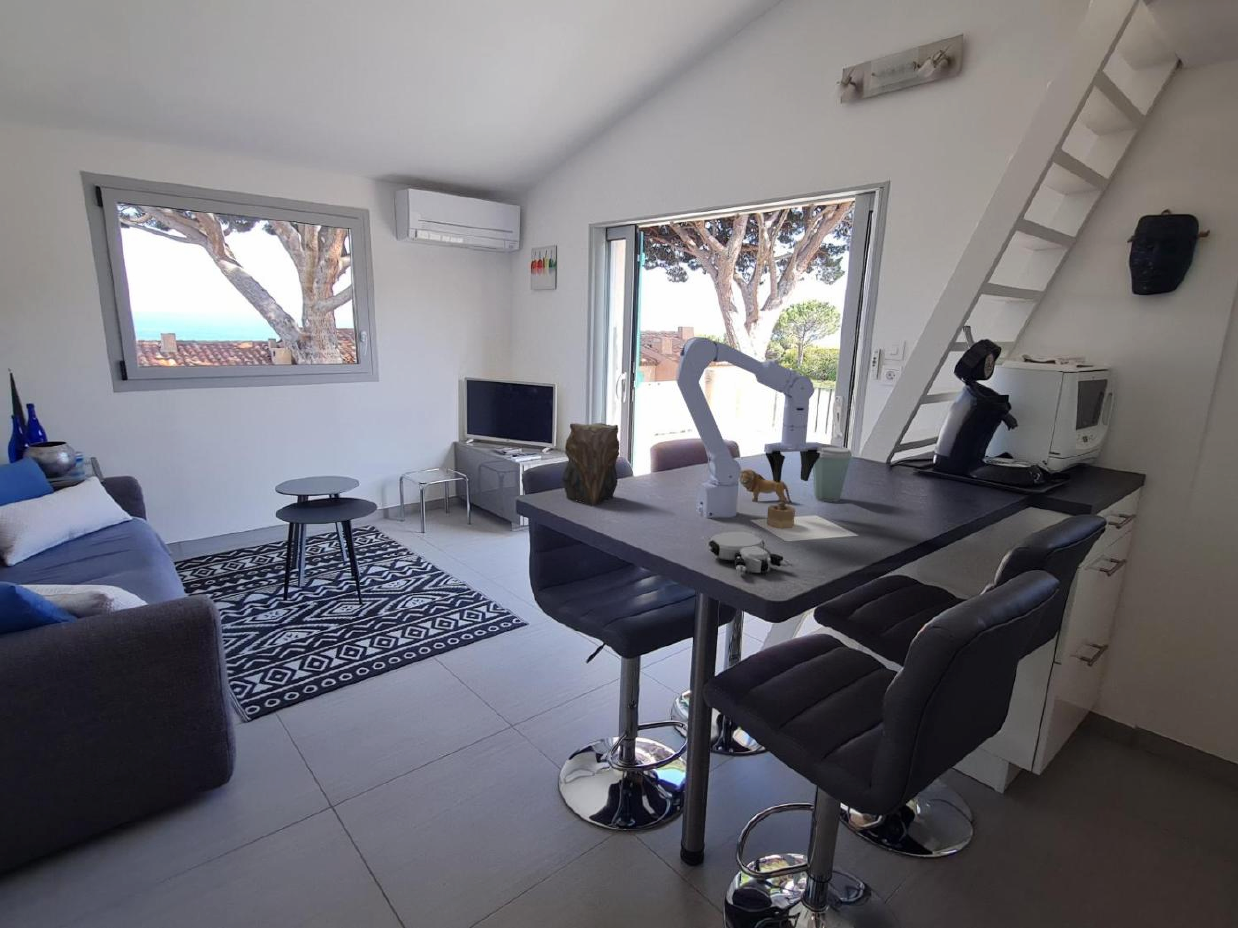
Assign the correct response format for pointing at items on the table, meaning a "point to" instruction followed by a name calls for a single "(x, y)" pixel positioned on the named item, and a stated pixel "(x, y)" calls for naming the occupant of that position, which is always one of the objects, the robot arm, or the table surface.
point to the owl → (591, 462)
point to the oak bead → (780, 517)
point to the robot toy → (744, 551)
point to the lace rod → (781, 506)
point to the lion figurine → (762, 485)
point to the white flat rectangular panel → (807, 529)
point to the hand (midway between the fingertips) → (790, 481)
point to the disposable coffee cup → (830, 472)
